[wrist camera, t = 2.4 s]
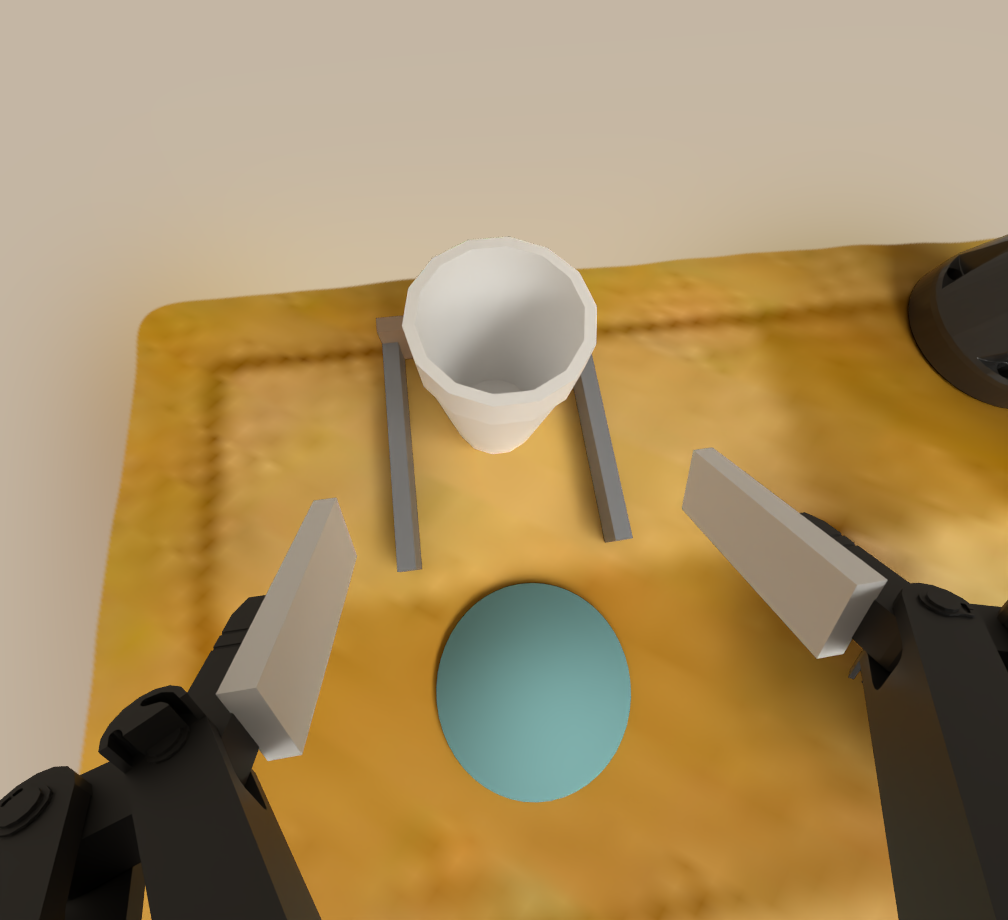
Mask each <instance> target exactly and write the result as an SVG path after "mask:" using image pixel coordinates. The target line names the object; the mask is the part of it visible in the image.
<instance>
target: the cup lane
mask: <svg viewBox="0 0 1008 920" xmlns="http://www.w3.org/2000/svg"><path fill="white" fill-rule="evenodd" d="M402 322H403V316H394V317H383V318H376V325H377V333H378V336H379V338H380V340H381V342H382V347H383V362H384V377H385V392H386V407H387V422H388V437H389V452H390V467H391V482H392V497H393V512H394V527H395V542H396V557H397V572H405V571H412V570H419V569H422V562H421V550H420V538H419V525H418V513H417V501H416V489H415V477H414V465H413V453H412V441H411V429H410V417H409V404H408V392H407V380H406V368H405V359H409V358H413V356H412V353H411V350H410V348H409V345H408V342H407V339H406V336H405V333H404V331H403V328H402ZM573 388H574V393H575V398H576V403H577V408H578V413H579V417H580V422H581V427H582V432H583V437H584V442H585V447H586V452H587V457H588V461H589V466H590V471H591V476H592V481H593V486H594V491H595V496H596V501H597V505H598V510H599V515H600V520H601V525H602V530H603V535H604V540H605V543H606V542H612V541H619V540H625V539H630V538H633V537H632V532H631V528H630V523H629V519H628V514H627V510H626V505H625V501H624V496H623V492H622V487H621V483H620V478H619V474H618V469H617V465H616V460H615V456H614V452H613V447H612V443H611V438H610V434H609V429H608V425H607V420H606V416H605V411H604V407H603V402H602V398H601V393H600V389H599V384H598V380H597V375H596V371H595V366H594V362H593V358H592V354H591V356H590V358H589V360H588V362H587V364H586V366H585V368H584V370H583V371H582V373H581V375H580V376H579V378H578V380H577V382H576V383H575V385H574V387H573Z"/></svg>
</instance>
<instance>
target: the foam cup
mask: <svg viewBox="0 0 1008 920" xmlns="http://www.w3.org/2000/svg"><path fill="white" fill-rule="evenodd" d="M402 328H403V331H404V333H405V336H406V339H407V342H408V345H409V348H410V350H411V353H412V356H413V359H414V361H415V364H416V367H417V370H418V372H419V375H420V378H421V380H422V383H423V386H424V387H425V388H426V389H427V390H428V391H429V392H430V393H431V394H432V395H434V396H435V397H436V399H437V400H438V402H439V403H440V405H441V406H442V408H443V410H444V411H445V413H446V414H447V416H448V417H449V419H450V420H451V422H452V423H453V425H454V426H455V428H456V429H457V431H458V432H459V434H460V435H461V436H462V437H463V438H464V439H465V440H466V441H467V442H468V443H469V444H470V445H471V446H472V447H473V448H474V449H477V450H480V451H483V452H487V453H490V454H497V453H505V452H510V451H512V450H513V449H515V448H516V447H518V446H520V445H521V444H523V443H524V442H525V441H526V440H527V439H528V438H529V437H530V436H531V434H532V433H533V432H534V431H535V430H536V428H537V427H538V426H539V425H540V424H541V423H542V421H543V420H544V419H545V418H546V417H547V415H548V414H549V413H550V412H551V411H552V410H553V408H554V407H555V406H556V405H558V404H560V403H561V402H563V401H564V400H566V399H567V397H568V395H569V394H570V392H571V390H572V388H573V387H574V385H575V383H576V382H577V380H578V378H579V376H580V375H581V373H582V371H583V370H584V368H585V366H586V364H587V362H588V360H589V358H590V356H591V354H592V352H593V350H594V348H595V346H596V330H597V306H596V304H595V302H594V300H593V298H592V296H591V294H590V292H589V290H588V288H587V286H586V284H585V282H584V280H583V278H582V277H581V275H580V273H579V272H578V271H577V270H576V269H574V268H573V267H572V266H571V265H569V264H568V263H567V262H566V261H564V260H563V259H562V258H560V257H559V256H558V255H556V254H555V253H554V252H553V251H551V250H550V249H549V248H547V247H543V246H540V245H536V244H532V243H529V242H526V241H522V240H519V239H516V238H512V237H496V238H485V239H473V240H467V241H465V242H463V243H461V244H459V245H457V246H455V247H453V248H451V249H449V250H447V251H445V252H443V253H441V254H439V255H437V256H435V257H433V258H432V259H431V260H430V261H429V262H428V264H427V265H426V266H425V268H424V269H423V270H422V271H421V273H420V274H419V275H418V276H417V278H416V279H415V280H414V282H413V283H412V284H411V285H410V287H409V288H408V293H407V299H406V304H405V310H404V316H403V322H402Z"/></svg>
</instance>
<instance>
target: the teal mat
mask: <svg viewBox="0 0 1008 920" xmlns="http://www.w3.org/2000/svg"><path fill="white" fill-rule="evenodd" d="M436 691H437V707H438V714H439V719H440V723H441V726H442V730H443V733H444V735H445V738H446V740H447V743H448V745H449V747H450V748H451V750H452V752H453V754H454V756H455V757H456V759H457V760H458V761H459V763H460V764H461V765H462V767H463V768H464V769H465V770H466V771H467V772H468V773H469V774H470V775H471V776H472V777H473V778H474V779H475V780H476V781H478V782H479V783H480V784H482V785H483V786H484V787H485V788H487V789H489V790H491V791H493V792H495V793H496V794H498V795H501V796H504V797H507V798H509V799H513V800H518V801H523V802H544V801H552V800H555V799H559V798H563V797H565V796H568V795H570V794H572V793H574V792H576V791H578V790H580V789H581V788H583V787H584V786H586V785H587V784H589V783H590V782H591V781H592V780H593V779H594V778H596V777H597V776H598V775H599V774H600V773H601V772H602V770H603V769H604V768H605V767H606V766H607V765H608V763H609V762H610V760H611V759H612V757H613V756H614V754H615V753H616V751H617V749H618V747H619V744H620V742H621V740H622V738H623V735H624V732H625V729H626V726H627V721H628V717H629V712H630V701H631V686H630V677H629V670H628V666H627V662H626V658H625V655H624V652H623V650H622V647H621V645H620V642H619V640H618V639H617V637H616V635H615V633H614V631H613V630H612V628H611V627H610V625H609V624H608V622H607V621H606V620H605V619H604V617H603V616H602V615H601V614H600V613H599V612H598V611H597V610H596V609H595V608H594V607H593V606H592V605H590V604H589V603H588V602H587V601H585V600H584V599H582V598H581V597H579V596H578V595H576V594H574V593H572V592H570V591H568V590H565V589H562V588H559V587H556V586H553V585H547V584H541V583H524V584H517V585H512V586H508V587H505V588H502V589H500V590H497V591H495V592H493V593H491V594H489V595H488V596H486V597H484V598H483V599H482V600H480V601H479V602H477V603H476V604H475V605H474V606H473V607H472V608H471V609H470V610H469V611H467V612H466V614H465V615H464V616H463V617H462V619H461V620H460V621H459V622H458V624H457V625H456V627H455V628H454V630H453V632H452V633H451V635H450V637H449V639H448V641H447V644H446V646H445V648H444V651H443V654H442V657H441V660H440V665H439V670H438V676H437V687H436Z"/></svg>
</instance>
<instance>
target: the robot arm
mask: <svg viewBox="0 0 1008 920" xmlns="http://www.w3.org/2000/svg"><path fill="white" fill-rule="evenodd" d="M909 321H910V326H911V329H912V332H913V335H914V338H915V340H916V342H917V344H918V346H919V348H920V349H921V351H922V353H923V354H924V356H925V357H926V358H927V360H928V361H929V362H930V364H931V365H932V366H933V367H934V368H935V369H936V370H937V371H938V372H939V373H940V374H941V375H942V376H943V377H944V378H945V379H946V380H948V381H949V382H950V383H951V384H953V385H954V386H955V387H957V388H958V389H960V390H961V391H963V392H965V393H966V394H968V395H970V396H972V397H974V398H976V399H978V400H980V401H983V402H985V403H988V404H991V405H994V406H998V407H1002V408H1007V409H1008V235H1005V236H1003V237H1000V238H997V239H995V240H992V241H990V242H987V243H985V244H982V245H979V246H977V247H974V248H972V249H969V250H966V251H964V252H962V253H960V254H958V255H956V256H954V257H952V258H950V259H949V260H947V261H946V262H944V263H943V264H941V265H940V266H938V267H937V268H935V269H934V270H932V271H931V272H929V273H928V274H926V275H925V276H924V277H922V278H921V279H920V280H919V282H918V283H917V284H916V286H915V287H914V289H913V291H912V294H911V297H910V301H909ZM682 510H683V511H684V512H685V513H686V514H687V515H688V516H689V517H690V519H691V520H692V521H693V522H694V523H695V524H696V525H697V526H698V527H699V529H700V530H701V531H702V532H703V533H704V534H705V535H706V536H707V537H708V539H709V540H710V541H711V542H712V543H713V544H714V545H715V546H716V547H717V549H718V550H719V551H720V552H721V553H722V554H723V555H724V556H725V557H726V559H727V560H728V561H729V562H730V563H731V564H732V565H733V566H734V567H735V569H736V570H737V571H738V572H739V573H740V574H741V575H742V576H743V577H744V579H745V580H746V581H747V582H748V583H749V584H750V585H751V586H752V587H753V589H754V590H755V591H756V592H757V593H758V594H759V595H760V596H761V597H762V599H763V600H764V601H765V602H766V603H767V604H768V605H769V606H770V607H771V609H772V610H773V611H774V612H775V613H776V614H777V615H778V616H779V617H780V619H781V620H782V621H783V622H784V623H785V624H786V625H787V626H788V627H789V629H790V630H791V631H792V632H793V633H794V634H795V635H796V636H797V637H798V639H799V640H800V641H801V642H802V643H803V644H804V645H805V646H806V647H807V649H808V650H809V651H810V652H811V653H812V654H813V655H814V656H815V657H816V659H818V658H824V657H829V656H834V655H840V654H844V652H845V650H846V649H847V647H848V645H849V644H850V642H851V640H852V639H854V640H855V641H856V642H857V643H858V644H859V645H860V646H861V647H862V648H863V650H862V652H861V654H860V655H859V657H858V658H857V660H856V661H855V663H854V665H853V666H852V668H851V669H850V671H849V676H848V677H849V678H851V679H854V678H855V677H856V675H857V674H858V672H859V671H861V673H862V683H863V686H864V693H865V700H866V706H867V713H868V719H869V726H870V733H871V739H872V746H873V753H874V759H875V766H876V772H877V779H878V786H879V792H880V799H881V805H882V812H883V819H884V825H885V832H886V839H887V845H888V852H889V858H890V865H891V872H892V878H893V885H894V892H895V898H896V905H897V911H898V918H899V920H1008V600H1007V602H1006V603H1005V604H1004V605H1003V606H1002V607H996V606H986V605H977V604H969V603H968V602H967V601H965V600H964V599H963V598H961V597H959V596H957V595H955V594H953V593H951V592H949V591H947V590H945V589H942V588H939V587H936V586H933V585H928V584H923V583H909V582H907V581H906V580H904V579H903V578H902V577H900V576H899V575H898V574H896V573H895V572H893V571H892V570H891V569H889V568H888V567H887V566H885V565H884V564H883V563H881V562H880V561H878V560H877V559H876V558H874V557H873V556H872V555H870V554H869V553H867V552H866V551H865V550H863V549H862V548H861V547H859V546H855V544H854V542H852V541H851V540H850V539H848V538H847V537H845V536H842V535H841V533H840V532H839V531H837V530H836V529H834V528H833V527H832V526H830V525H829V524H828V523H826V522H825V521H822V520H820V519H818V518H816V517H814V516H812V515H809V514H807V513H805V512H804V513H798V512H797V511H796V510H795V509H793V508H792V507H791V506H789V505H788V504H787V503H785V502H784V501H783V500H781V499H780V498H779V497H777V496H776V495H775V494H773V493H772V492H771V491H769V490H768V489H767V488H765V487H764V486H763V485H761V484H760V483H759V482H757V481H756V480H755V479H754V478H752V477H751V476H750V475H748V474H747V473H746V472H744V471H743V470H742V469H740V468H739V467H738V466H736V465H735V464H734V463H732V462H731V461H730V460H728V459H727V458H726V457H724V456H723V455H722V454H720V453H719V452H718V451H716V450H715V449H714V448H705V449H698V450H693V455H692V460H691V465H690V470H689V475H688V480H687V485H686V490H685V495H684V500H683V505H682ZM356 558H357V555H356V552H355V549H354V546H353V543H352V540H351V538H350V535H349V532H348V529H347V526H346V523H345V521H344V518H343V515H342V512H341V509H340V506H339V503H338V501H337V498H330V499H322V500H315V501H313V503H312V505H311V507H310V509H309V511H308V513H307V515H306V517H305V519H304V521H303V523H302V525H301V527H300V529H299V531H298V533H297V535H296V537H295V539H294V541H293V543H292V545H291V547H290V549H289V551H288V553H287V555H286V557H285V559H284V561H283V562H282V564H281V566H280V568H279V570H278V572H277V574H276V576H275V578H274V580H273V582H272V584H271V586H270V588H269V590H268V592H267V594H266V595H263V596H256V597H250V598H248V599H247V600H246V601H245V602H244V603H243V604H242V605H241V606H240V607H239V608H238V609H237V610H236V611H235V612H234V613H233V614H232V615H231V617H230V619H229V621H228V622H227V624H226V626H225V628H224V629H223V631H222V635H221V636H219V638H218V640H217V642H216V643H215V645H214V650H213V651H211V652H210V654H209V656H208V657H207V659H206V661H205V663H204V664H203V666H202V668H201V670H200V671H199V673H198V675H197V677H196V678H195V680H194V682H193V684H192V685H191V687H190V689H189V691H188V692H186V691H185V690H184V689H183V688H182V687H180V686H171V685H169V686H166V687H162V688H158V689H155V690H153V691H151V692H149V693H147V694H145V695H143V696H141V697H139V698H138V699H137V700H135V701H134V702H133V703H131V704H130V705H129V706H127V707H126V708H125V709H123V710H122V711H121V712H120V714H119V715H118V716H117V717H116V718H115V719H114V720H113V721H112V722H111V723H110V724H109V726H108V728H107V729H106V731H105V733H104V734H103V736H102V738H101V740H100V745H99V751H98V752H99V753H100V754H101V755H102V756H104V757H105V758H106V759H107V760H108V761H110V762H108V763H106V764H103V765H101V766H99V767H97V768H95V769H92V770H90V771H88V772H86V773H84V774H82V775H79V774H77V773H76V772H74V771H73V770H72V769H70V768H69V767H68V766H61V767H53V768H50V769H48V770H45V771H42V772H40V773H37V774H36V775H34V776H32V777H31V778H29V779H28V780H26V781H24V782H23V783H21V784H20V785H18V786H16V787H15V788H14V789H13V790H12V791H11V792H9V793H8V794H7V795H6V796H5V797H3V799H1V800H0V920H141V919H142V910H143V900H144V891H145V886H146V891H147V897H148V902H149V907H150V913H151V918H152V920H321V917H320V915H319V913H318V911H317V909H316V906H315V904H314V902H313V900H312V897H311V895H310V893H309V891H308V889H307V886H306V884H305V882H304V880H303V877H302V875H301V873H300V871H299V869H298V866H297V864H296V862H295V860H294V857H293V855H292V853H291V851H290V849H289V846H288V844H287V842H286V840H285V837H284V835H283V833H282V831H281V829H280V826H279V824H278V822H277V820H276V817H275V815H274V813H273V811H272V809H271V806H270V804H269V802H268V800H267V797H266V795H265V793H264V791H263V789H262V786H261V784H260V782H259V780H258V778H257V775H256V773H255V772H254V771H253V770H252V766H253V763H254V760H255V758H256V755H257V752H258V749H259V750H260V751H261V753H262V754H263V755H264V756H265V758H266V759H267V760H268V761H270V760H276V759H281V758H287V757H292V756H297V755H302V753H303V749H304V746H305V742H306V739H307V735H308V731H309V728H310V724H311V721H312V717H313V713H314V710H315V706H316V703H317V699H318V695H319V692H320V688H321V684H322V681H323V677H324V674H325V670H326V666H327V663H328V659H329V656H330V652H331V648H332V645H333V641H334V638H335V634H336V630H337V627H338V623H339V620H340V616H341V612H342V609H343V605H344V601H345V598H346V594H347V591H348V587H349V583H350V580H351V576H352V573H353V569H354V565H355V562H356Z"/></svg>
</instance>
